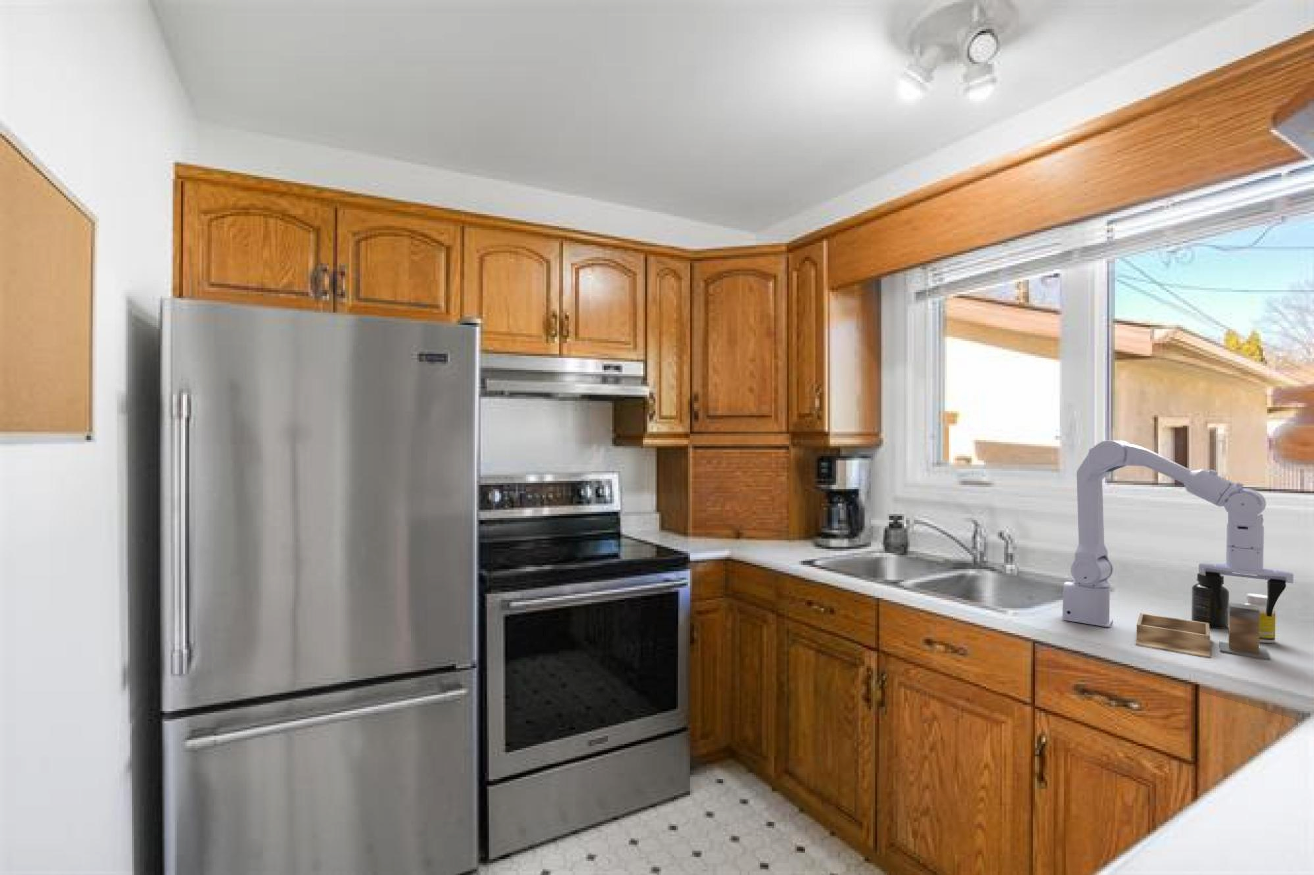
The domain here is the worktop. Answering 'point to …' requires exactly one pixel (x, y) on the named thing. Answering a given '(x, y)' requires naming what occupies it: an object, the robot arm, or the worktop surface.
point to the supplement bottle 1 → (1209, 604)
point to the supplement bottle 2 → (1263, 618)
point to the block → (1244, 628)
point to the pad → (1262, 652)
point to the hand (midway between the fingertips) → (1243, 611)
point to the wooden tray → (1173, 635)
